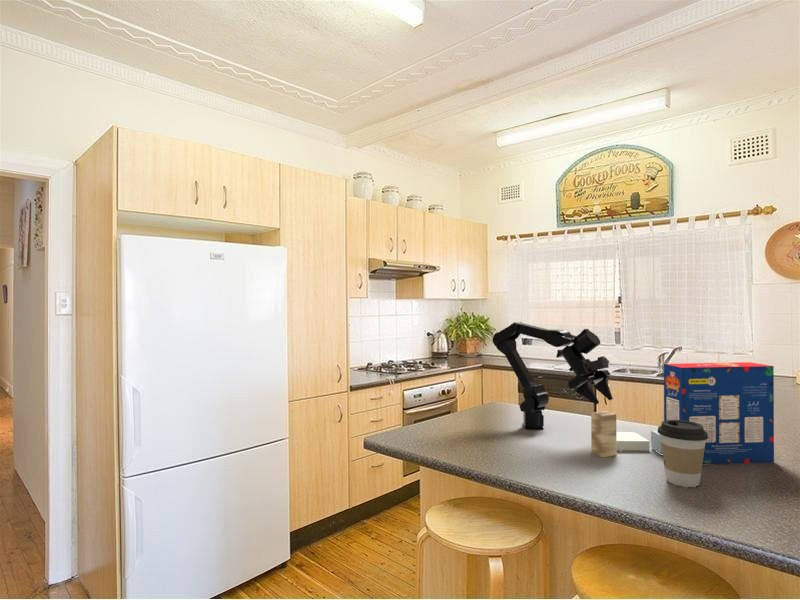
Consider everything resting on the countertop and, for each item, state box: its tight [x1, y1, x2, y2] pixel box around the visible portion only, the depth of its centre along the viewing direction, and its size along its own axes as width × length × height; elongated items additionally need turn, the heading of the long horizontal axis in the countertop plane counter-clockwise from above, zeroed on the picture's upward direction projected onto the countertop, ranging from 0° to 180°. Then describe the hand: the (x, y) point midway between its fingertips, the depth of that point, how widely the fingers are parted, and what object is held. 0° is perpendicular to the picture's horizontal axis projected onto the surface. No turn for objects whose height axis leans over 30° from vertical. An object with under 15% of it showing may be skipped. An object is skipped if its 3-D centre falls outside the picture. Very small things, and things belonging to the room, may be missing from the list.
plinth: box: [616, 431, 651, 450], centre depth 151 cm, size 10×10×4 cm
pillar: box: [590, 410, 618, 458], centre depth 143 cm, size 4×6×12 cm
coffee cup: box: [656, 420, 708, 488], centre depth 120 cm, size 11×11×15 cm
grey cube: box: [650, 430, 663, 455], centre depth 144 cm, size 6×6×6 cm
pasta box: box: [663, 361, 775, 465], centre depth 138 cm, size 28×8×28 cm, turn 95°
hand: (604, 401), depth 152 cm, fingers open, 9 cm apart
